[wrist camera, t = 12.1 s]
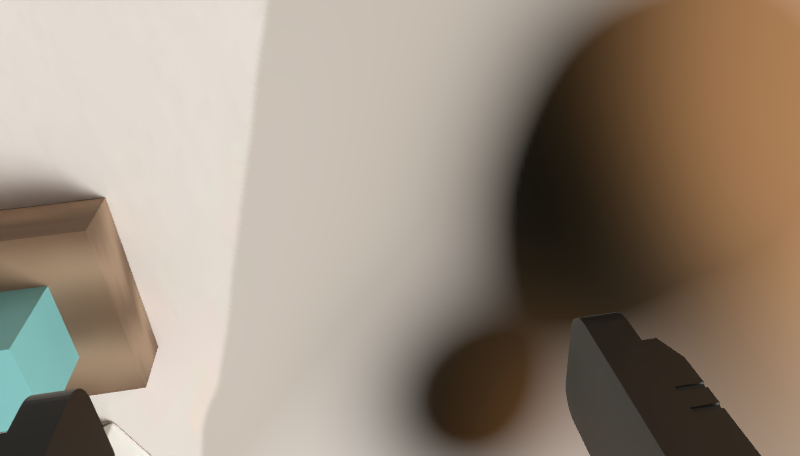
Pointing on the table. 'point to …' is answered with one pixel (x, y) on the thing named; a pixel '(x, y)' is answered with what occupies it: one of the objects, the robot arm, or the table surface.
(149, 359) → the walnut base
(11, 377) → the teal cube
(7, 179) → the table surface
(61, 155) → the table surface
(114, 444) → the milk carton
